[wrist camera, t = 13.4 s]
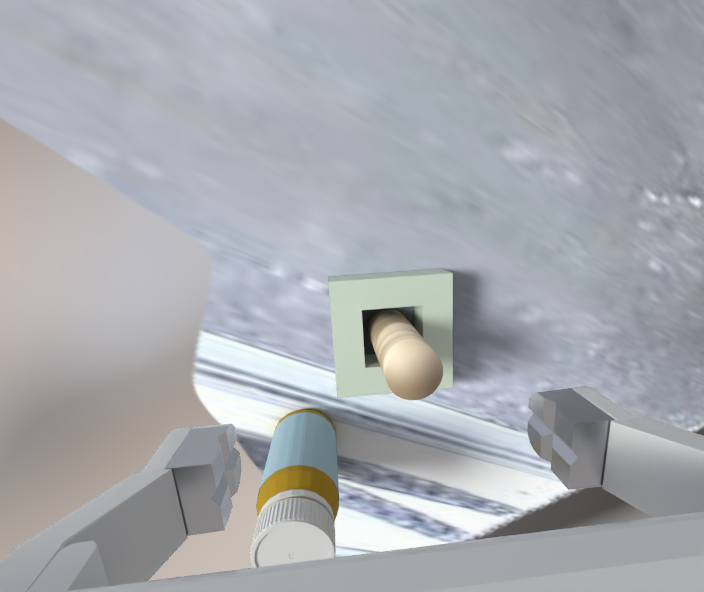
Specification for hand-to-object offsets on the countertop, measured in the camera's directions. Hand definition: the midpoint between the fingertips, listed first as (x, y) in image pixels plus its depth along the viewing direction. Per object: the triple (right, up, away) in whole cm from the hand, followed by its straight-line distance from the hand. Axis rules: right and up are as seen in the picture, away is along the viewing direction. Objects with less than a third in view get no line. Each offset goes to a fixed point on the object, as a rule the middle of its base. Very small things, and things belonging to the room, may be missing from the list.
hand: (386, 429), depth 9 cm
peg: (+3, 0, +28) cm, 28 cm away
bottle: (-6, -12, +30) cm, 33 cm away
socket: (+3, 0, +28) cm, 28 cm away
